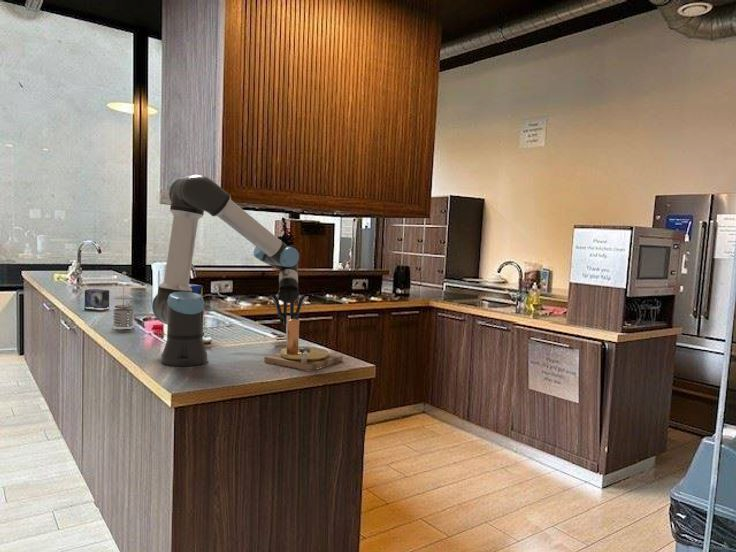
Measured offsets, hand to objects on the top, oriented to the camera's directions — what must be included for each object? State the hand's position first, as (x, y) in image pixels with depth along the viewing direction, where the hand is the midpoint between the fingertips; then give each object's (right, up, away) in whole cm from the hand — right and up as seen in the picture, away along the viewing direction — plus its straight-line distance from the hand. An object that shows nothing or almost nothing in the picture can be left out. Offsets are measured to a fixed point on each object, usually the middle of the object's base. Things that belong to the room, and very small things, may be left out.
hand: (288, 331), depth 205 cm
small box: (-113, +3, +85) cm, 142 cm away
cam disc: (+7, -8, -7) cm, 12 cm away
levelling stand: (+7, -10, -7) cm, 14 cm away
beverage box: (-47, -5, +26) cm, 54 cm away
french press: (-78, -2, +38) cm, 87 cm away
